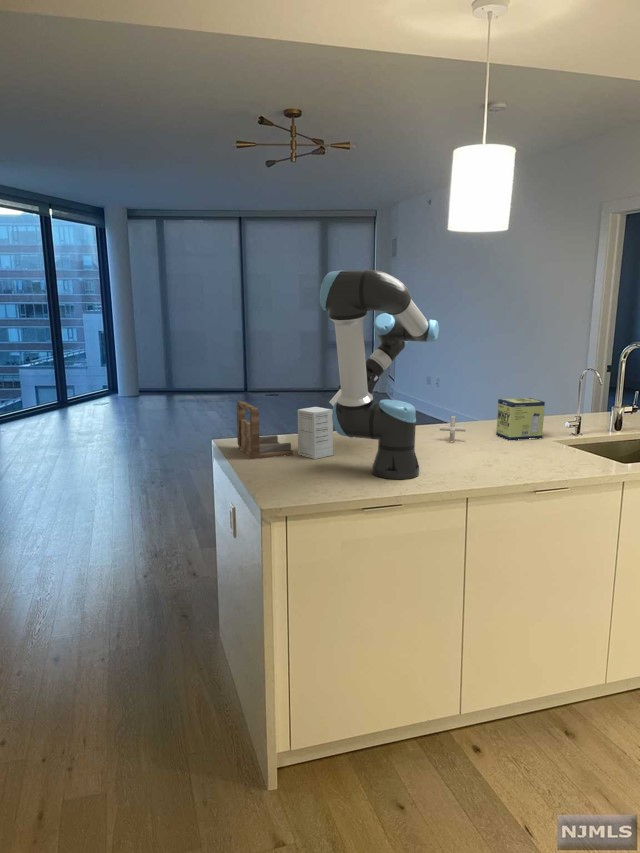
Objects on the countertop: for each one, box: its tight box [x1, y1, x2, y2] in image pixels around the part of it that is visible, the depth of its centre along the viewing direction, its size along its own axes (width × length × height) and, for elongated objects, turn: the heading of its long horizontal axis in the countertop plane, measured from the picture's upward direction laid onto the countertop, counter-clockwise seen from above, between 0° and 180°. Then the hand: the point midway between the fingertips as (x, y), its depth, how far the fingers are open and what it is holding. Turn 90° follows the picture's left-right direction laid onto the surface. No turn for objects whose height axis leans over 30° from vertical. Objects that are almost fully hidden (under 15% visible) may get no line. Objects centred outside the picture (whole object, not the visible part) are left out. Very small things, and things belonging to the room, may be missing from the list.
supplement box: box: [297, 406, 334, 460], centre depth 215 cm, size 10×9×17 cm
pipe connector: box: [439, 416, 467, 442], centre depth 239 cm, size 10×10×10 cm
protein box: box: [495, 397, 546, 441], centre depth 246 cm, size 10×16×16 cm
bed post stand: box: [236, 400, 294, 460], centre depth 220 cm, size 18×15×18 cm
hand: (339, 407), depth 218 cm, fingers open, 13 cm apart
